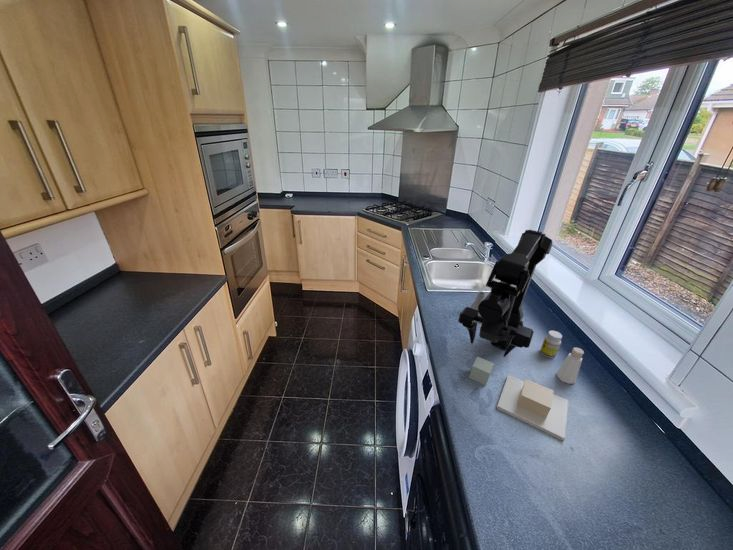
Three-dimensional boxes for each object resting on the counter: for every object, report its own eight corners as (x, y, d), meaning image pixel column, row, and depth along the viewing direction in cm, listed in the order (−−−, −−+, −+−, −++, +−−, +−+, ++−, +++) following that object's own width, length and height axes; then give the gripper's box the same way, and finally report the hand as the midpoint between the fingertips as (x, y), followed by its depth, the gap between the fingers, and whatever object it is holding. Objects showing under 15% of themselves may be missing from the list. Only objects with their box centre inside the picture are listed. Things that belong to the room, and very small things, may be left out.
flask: (489, 317, 121) (495, 296, 116) (475, 320, 118) (480, 299, 114) (477, 308, 127) (482, 287, 122) (463, 310, 124) (468, 290, 120)
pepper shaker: (573, 373, 94) (586, 346, 89) (578, 386, 90) (592, 358, 85) (554, 369, 96) (566, 342, 91) (557, 381, 91) (570, 353, 86)
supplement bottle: (540, 347, 105) (547, 327, 102) (555, 352, 103) (563, 332, 99) (539, 355, 102) (547, 335, 98) (555, 360, 100) (563, 340, 96)
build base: (507, 377, 92) (511, 364, 90) (567, 402, 84) (573, 390, 82) (496, 408, 82) (500, 395, 79) (563, 441, 74) (570, 427, 71)
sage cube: (474, 368, 95) (477, 356, 93) (490, 375, 92) (494, 363, 90) (469, 378, 91) (472, 365, 89) (485, 385, 89) (489, 373, 86)
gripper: (456, 305, 78) (447, 351, 85) (534, 332, 69) (516, 381, 76) (469, 288, 87) (460, 331, 94) (541, 311, 77) (524, 356, 85)
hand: (487, 349), depth 87 cm, fingers open, 9 cm apart
